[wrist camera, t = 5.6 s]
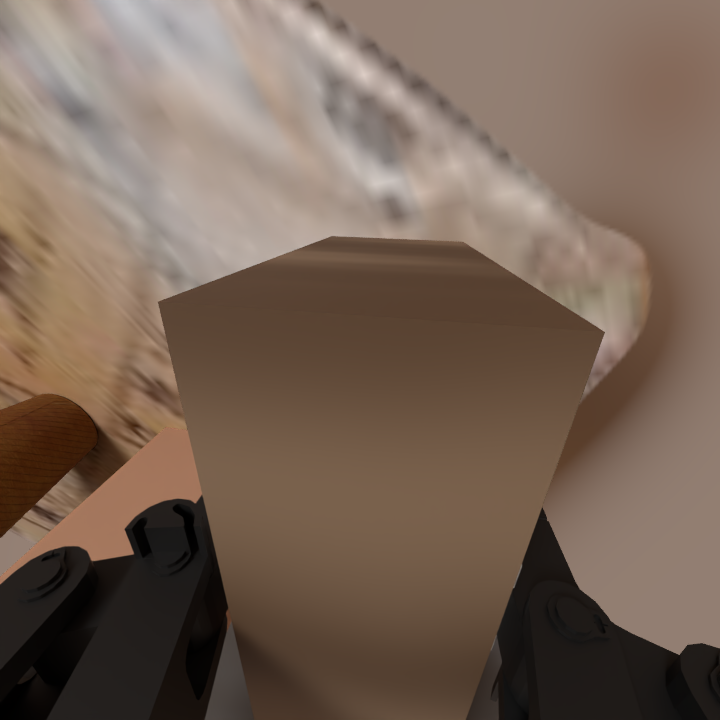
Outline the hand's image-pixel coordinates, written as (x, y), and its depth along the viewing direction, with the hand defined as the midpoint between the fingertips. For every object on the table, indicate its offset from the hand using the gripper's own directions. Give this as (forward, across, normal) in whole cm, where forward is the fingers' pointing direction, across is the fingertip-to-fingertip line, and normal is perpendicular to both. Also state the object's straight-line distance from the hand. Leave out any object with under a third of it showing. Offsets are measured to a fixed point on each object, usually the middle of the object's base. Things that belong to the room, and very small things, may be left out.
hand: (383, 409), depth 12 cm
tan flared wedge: (0, 0, +1) cm, 1 cm away
